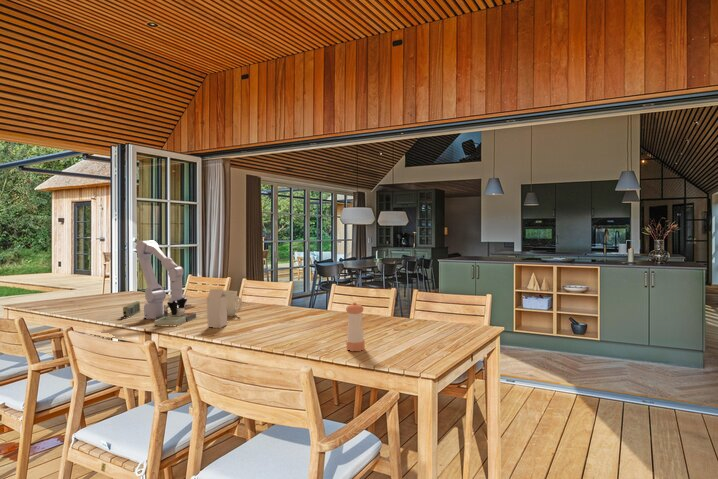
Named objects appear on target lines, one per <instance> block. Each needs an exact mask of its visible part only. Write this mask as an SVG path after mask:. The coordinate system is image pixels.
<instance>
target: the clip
mask: <svg viewBox="0 0 718 479" xmlns="http://www.w3.org/2000/svg"><path fill="white" fill-rule="evenodd" d="M168 308H170V307H169V306H168V304H163V314H164V315H167V314H168V313H169V310H168Z"/></svg>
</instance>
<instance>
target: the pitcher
mask: <svg viewBox="0 0 718 479" xmlns="http://www.w3.org/2000/svg"><path fill="white" fill-rule="evenodd" d="M223 292H224V294H225V295H226V301H227V317H232V316H235V315H236V314H237V312H240V310H242V307H243V301H242V298H241V297H240V296H238V291H237V290H236V291H235V290H225V289H223Z"/></svg>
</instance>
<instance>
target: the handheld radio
mask: <svg viewBox="0 0 718 479" xmlns="http://www.w3.org/2000/svg"><path fill="white" fill-rule="evenodd" d="M140 312H141V304H140V301H139V300H137V301H133V302H132V303H130V304H127V305H125V306H123V307H122V314H123V316H121V317H119V319H120V318H124V317H129V316H131V315H133V316H135V315H137V314H138V313H140ZM134 314H135V315H134ZM131 317H132V316H131ZM129 318H130V317H129ZM124 319H125V318H124Z"/></svg>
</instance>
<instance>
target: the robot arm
mask: <svg viewBox="0 0 718 479" xmlns="http://www.w3.org/2000/svg"><path fill="white" fill-rule="evenodd" d="M135 249H136V253H137V258H138V262H139V264H140V268H141V271H142V274H143V276H144V280H145V283H146V288H145V290H144V295H145V301H146V302H145V303H144V306H143V315H144V316H143V319H144V318H146V319H145V320H150V319H151V320H156V316H159V315H162V314H164V301H165V299H166V296H167V293H166V290H164V288H163V286H162V285H160V284H159V283H158V281H157V276H156V275H155V271H154V269H153V264H152V263H151V259H150V258H151V257H152V256H153V255H154V256H155V257H156V258H157V259H158V260H159V261H161V266H162V267H163V268H164V269H165V271H167V274H168V277H169V281H170V286H171V291H170V292H171V293H170V294H171V296H170V298H168V301H167V304H166V305H168V306H169V307H168V308H169V309H170V312H171V313H172V315H176V314H177V308H184V309H185V306H186V304H187V301H188V298H186V294H183V293H184V292H183V276H184V274H185V270H184V268H183V267H182V266H179V265H178V264H177V263H176V262H175V261H174V260H173V258H171V257H167V256H166V255H165V253H164V252H163V250H162V249H161V248H160V246H159V243H157V241H155V240H154V239H151V240H138V241H137V243H136V245H135Z"/></svg>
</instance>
